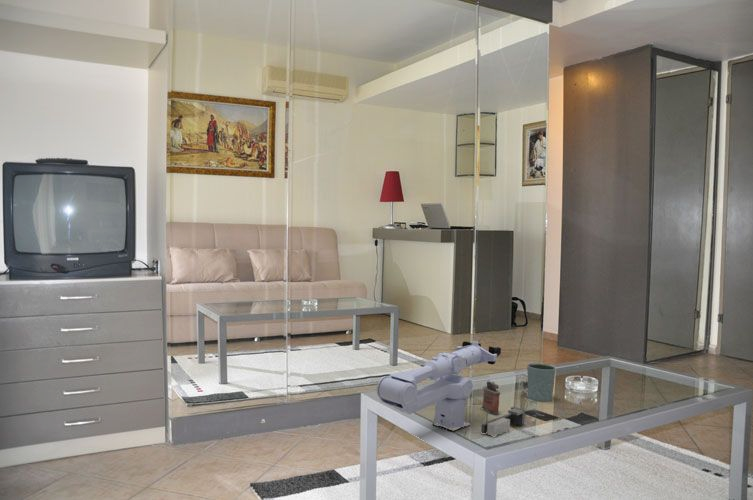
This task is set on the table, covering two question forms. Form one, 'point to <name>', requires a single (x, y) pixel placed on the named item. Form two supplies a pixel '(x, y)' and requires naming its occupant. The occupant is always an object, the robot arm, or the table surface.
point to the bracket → (515, 417)
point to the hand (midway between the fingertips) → (489, 348)
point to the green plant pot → (540, 382)
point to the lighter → (491, 398)
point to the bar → (498, 426)
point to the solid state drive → (540, 415)
